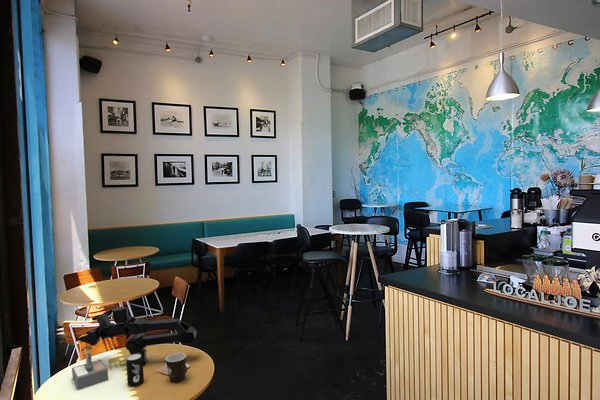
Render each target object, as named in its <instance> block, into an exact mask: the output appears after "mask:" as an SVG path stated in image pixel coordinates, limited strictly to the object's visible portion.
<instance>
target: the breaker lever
mask: <svg viewBox="0 0 600 400" xmlns="http://www.w3.org/2000/svg"><path fill="white" fill-rule="evenodd" d="M83 350H84V353H85V360H86V361H85V364H86V365H87V367H88V369H89V370H91V369H92V368H93V367H92V362H93V361H92V354H93V348H92V346H91V345H87V346H83Z"/></svg>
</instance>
